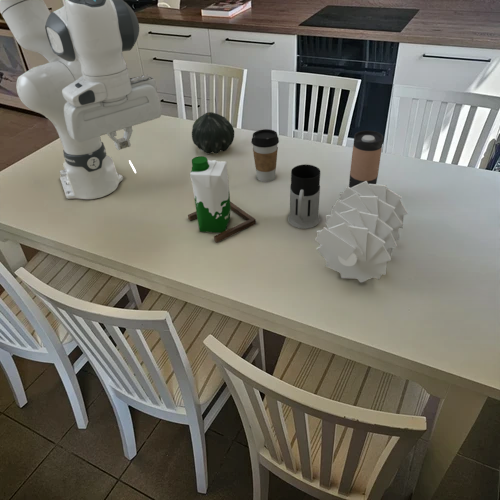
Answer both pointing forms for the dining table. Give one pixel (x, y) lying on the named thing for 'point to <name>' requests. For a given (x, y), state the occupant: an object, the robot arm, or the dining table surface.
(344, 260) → the spiral staircase
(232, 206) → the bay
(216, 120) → the squash
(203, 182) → the soya milk
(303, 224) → the glass holder
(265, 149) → the coffee cup
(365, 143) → the travel mug
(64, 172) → the robot arm
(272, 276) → the dining table surface
